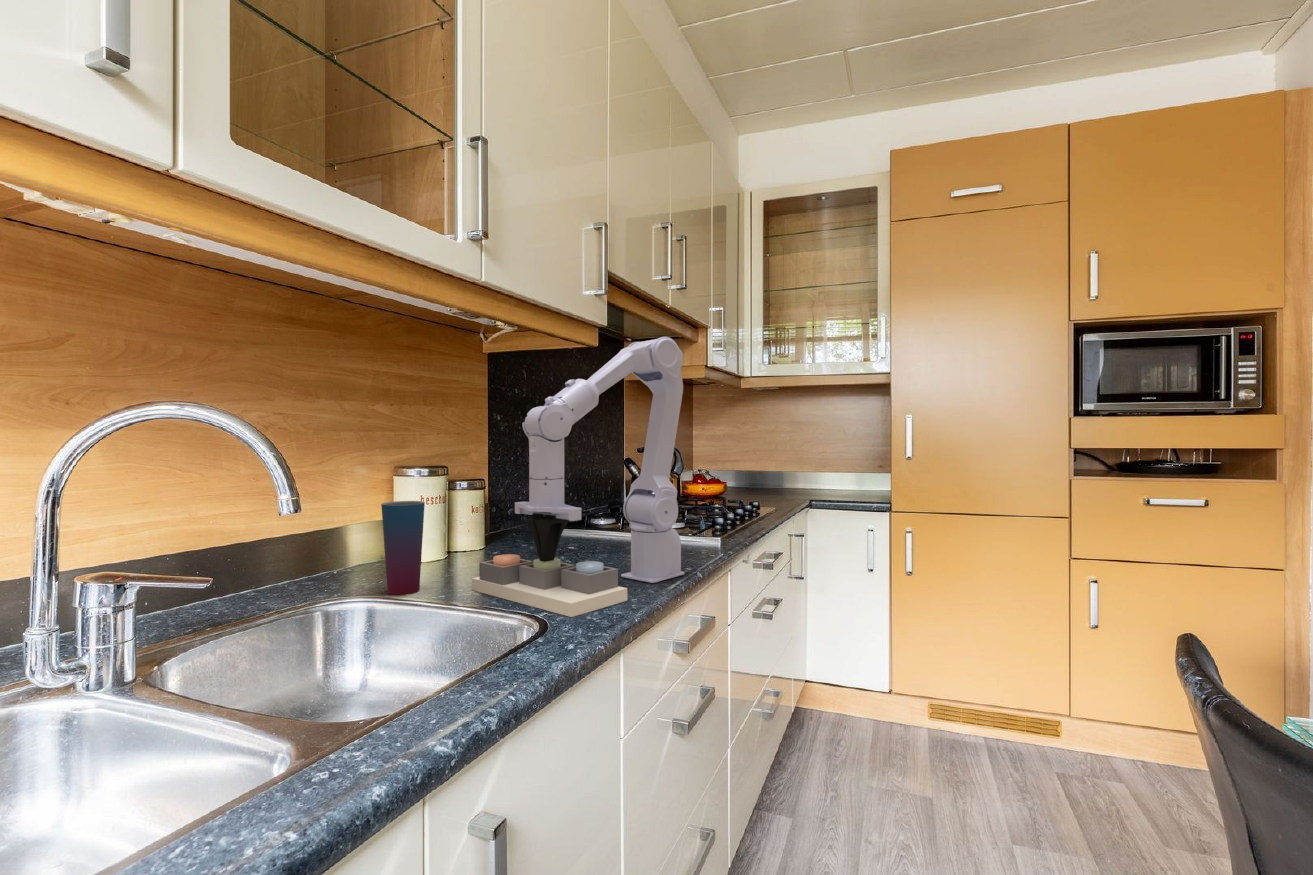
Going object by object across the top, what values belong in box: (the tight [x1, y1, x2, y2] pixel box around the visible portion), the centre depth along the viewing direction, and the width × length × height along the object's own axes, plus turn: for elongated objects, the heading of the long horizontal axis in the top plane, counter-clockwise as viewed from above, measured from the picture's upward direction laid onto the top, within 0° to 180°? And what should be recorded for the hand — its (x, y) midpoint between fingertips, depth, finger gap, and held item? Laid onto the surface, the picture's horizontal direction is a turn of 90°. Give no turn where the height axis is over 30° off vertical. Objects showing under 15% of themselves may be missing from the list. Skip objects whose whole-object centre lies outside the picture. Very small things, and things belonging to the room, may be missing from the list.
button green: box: [533, 557, 561, 570], centre depth 106 cm, size 4×4×2 cm
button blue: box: [575, 560, 604, 574], centre depth 103 cm, size 4×4×2 cm
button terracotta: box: [492, 553, 521, 567], centre depth 109 cm, size 4×4×2 cm
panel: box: [471, 558, 628, 618], centre depth 106 cm, size 12×25×5 cm, turn 50°
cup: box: [381, 500, 426, 596], centre depth 109 cm, size 7×7×15 cm
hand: (546, 560), depth 106 cm, fingers closed, pressing on button green
